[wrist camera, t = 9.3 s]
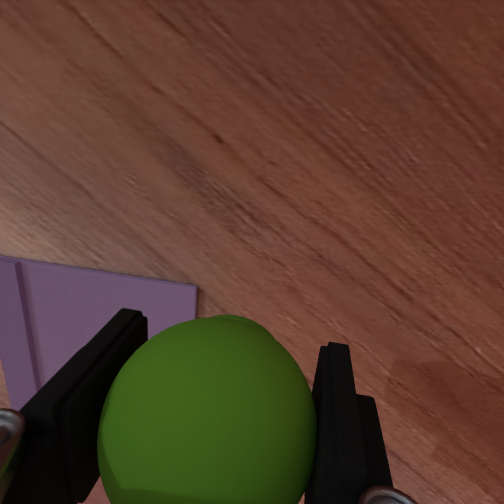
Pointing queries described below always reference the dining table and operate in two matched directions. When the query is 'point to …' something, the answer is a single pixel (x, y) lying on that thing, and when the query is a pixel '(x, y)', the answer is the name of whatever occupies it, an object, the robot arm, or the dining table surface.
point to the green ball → (208, 419)
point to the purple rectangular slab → (71, 315)
